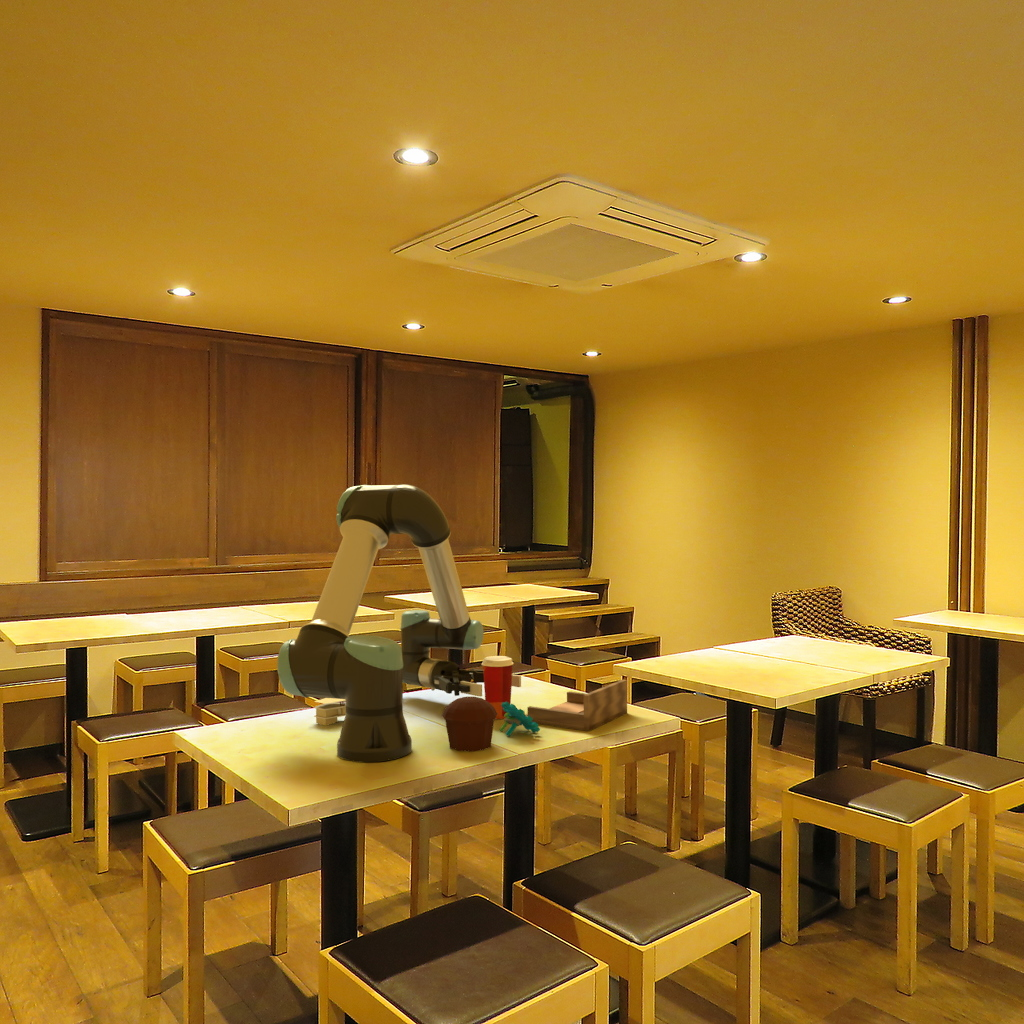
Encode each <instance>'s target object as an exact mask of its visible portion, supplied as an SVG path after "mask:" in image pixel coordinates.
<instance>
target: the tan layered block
mask: <svg viewBox="0 0 1024 1024" xmlns="http://www.w3.org/2000/svg"><path fill="white" fill-rule="evenodd" d="M314 702H315V703H321V704H319V705H316V706H313V709H315V715H314V716H313V718H315V723H319V724H318V725H321V724H323V725H322V726H325V725H326V726H329V725H328V724H330V725H333V724H336V723H335V722H337V723H338V718H341V717H345V715H346V704H345V699H336V698H320V699H317V700H314ZM332 723H333V724H332Z"/></svg>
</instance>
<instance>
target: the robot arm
mask: <svg viewBox="0 0 1024 1024" xmlns="http://www.w3.org/2000/svg"><path fill="white" fill-rule="evenodd" d="M336 511H337V513H336V516H335V517H336V524H337V526H338V528H339V533H340V534H341V536H342V540H341V541H340V544H339V547H338V549H337V552H336V555H335V558H334V560H333V563H332V565H331V567H330V571H329V574H328V576H327V580H326V582H325V584H324V587H323V589H322V591H321V594H320V597H319V600H318V602H317V605H316V607H315V610H314V613H313V616H312V618H311V622H308V623H305V624H303V625H302V626H301V628H300V630H299V632H298V635H297V638H292V639H288V640H286V641H284V643H282V645H281V646H280V648H279V652H278V655H277V661H276V662H277V664H276V667H277V668H276V669H277V674H278V679H279V683H280V684H281V687H282V688H283V690H285V691H286V693H288V694H290V695H293V696H300V697H303V698H319V699H324V698H336V699H345V701H344V702H345V704H346V715H345V716H344V719H343V723H342V727H341V730H340V733H339V734H340V735H339V738H338V740H337V744H336V750H337V751H336V752H337V753H336V754H337V756H338V757H339V758H341V759H343V760H346V761H349V762H350V761H351V762H358V763H359V762H362V763H373V762H375V763H378V762H386V761H391V760H396V759H400V758H402V757H406V756H407V755H409V754H411V752H412V751H413V750H412V749H413V748H412V747H413V745H412V743H413V742H412V738H411V735H410V734H409V731H408V729H409V728H408V726H407V723H406V719H405V715H404V704H403V703H404V702H403V700H404V697H403V694H404V689H403V685H404V684H403V683H405V684H406V685H410V686H412V685H413V686H418V687H423V688H428V689H429V688H430V690H431V691H435V690H438V691H443V692H445V693H446V694H453V693H454V695H453V696H455V697H456V696H460V693H461V694H465V695H471V696H474V697H483V684H484V673H483V669H476V668H471V669H466V668H460V666H459V665H458V664H457V663H456V662H454V661H449V660H443V659H439V658H431V657H430V653H431V650H430V649H431V648H432V649H452V650H463V651H467V650H477V649H479V648H480V647H481V646H482V643H483V642H484V641H483V640H484V626H483V623H482V622H481V621H479V620H476V619H471V616H470V613H469V611H468V605H467V602H466V598H465V596H464V595H465V594H464V592H463V588H462V584H461V581H460V577H459V573H458V570H457V566H456V563H455V559H454V554H453V552H452V551H453V550H452V548H451V544H450V540H449V539H450V536H451V534H452V533H451V528H450V525H449V521H448V519H447V517H446V515H445V513H444V511H443V510H442V508H441V506H440V505H439V504H438V503H437V501H435V499H434V498H433V497H432V496H431V495H430V494H429V493H428V492H427V491H425V490H423V489H422V488H420V487H417V486H415V485H412V484H403V483H402V484H386V485H385V484H384V485H383V484H381V485H380V484H379V485H370V484H362V485H355V486H351V487H348V488H347V489H346V490H345V491H344V492H342V494H341V496H340V498H339V500H338V503H337V505H336ZM404 534H405V535H407V536H409V538H410V540H411V544H413V545H412V546H414V547H415V548H418V552H419V554H420V559H421V561H422V565H423V567H424V572H425V575H426V577H427V582H428V584H429V587H430V588H429V589H430V591H431V594H432V597H433V600H434V604H435V607H436V610H437V613H438V617H439V618H431V616H430V611H428V610H423V609H422V610H421V609H420V610H419V609H413V610H406V611H403V612H402V614H401V615H400V616H401V619H400V620H401V622H400V628H399V629H400V644H399V643H398V642H397V641H395V640H393V639H392V638H388V637H384V636H379V635H372V634H371V635H366V634H358V635H357V634H355V635H350V632H351V629H352V626H353V623H354V622H355V621H354V620H355V617H356V616H357V612H358V609H359V607H360V603H361V601H362V598H363V594H364V592H365V589H366V585H367V583H368V581H369V577H370V575H371V571H372V569H373V566H374V563H375V560H376V557H377V554H378V552H379V550H382V549H383V548H385V547H386V546H387V544H388V542H389V539H390V536H391V535H404ZM472 680H473V681H472ZM481 683H483V684H481ZM512 687H515V688H521V687H522V675H518V674H514V673H512Z"/></svg>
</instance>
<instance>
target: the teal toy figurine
mask: <svg viewBox="0 0 1024 1024" xmlns="http://www.w3.org/2000/svg"><path fill="white" fill-rule="evenodd" d="M501 706H502V707H503V710H504V711H505V712H506V714H505V715H504V717H506V718H505V719H503V721H504V723H503V724H502V726H501V727H500V728H499V731H501V732H503V731H504V730H505V729H506V727H507V725H509V726H510V727H508V730H507V731H506V732H505V735H506V736H507V737H510V736H511V735H512V733H513V732H514V731H515V729H516V728H517V727H519V726H523V728H524V729H525V730H527V731H531V732H532V733H534V734H536V733H539V731H540V730H541V728H540V727H539V725H540V724H537V723H536V722H532V720H533V718H531V717H530V716H529V715H528V714H527V715H526V713H525V710H523V709H521V708H517V706H516V705H515V704H514V703H511V704H509V703H508V702H507V701H506V702H505V703H504V702H503V703H502V704H501Z"/></svg>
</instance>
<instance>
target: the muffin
mask: <svg viewBox="0 0 1024 1024" xmlns="http://www.w3.org/2000/svg"><path fill="white" fill-rule="evenodd" d="M496 716H497V712H496V710H495V708H494V707H493V706H492V705H491V704H490V703H489V702H487V701H486V700H485V698H482V697H479V696H462V697H458V698H456V699H455V700H453V701H451V702H449V704H448V705H446V707H444V710H443V712H442V713H441V717H442V718H443V719H444V720H445V725H446V731H447V738H448V743H449V744H448V745H449V749H452V750H455V751H458V752H468V753H472V752H478V751H485V750H487V749H489V748H491V747H492V741H493V740H492V739H493V730H494V723H495V720H496V719H495V718H496Z"/></svg>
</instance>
